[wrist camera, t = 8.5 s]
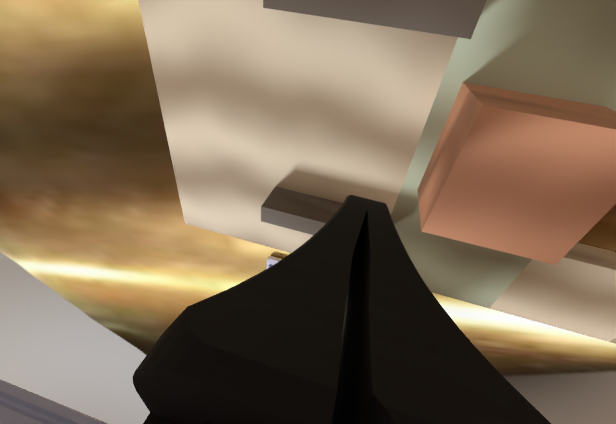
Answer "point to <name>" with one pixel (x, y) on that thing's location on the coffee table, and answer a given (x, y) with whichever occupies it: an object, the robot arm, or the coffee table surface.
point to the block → (520, 172)
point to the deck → (372, 123)
